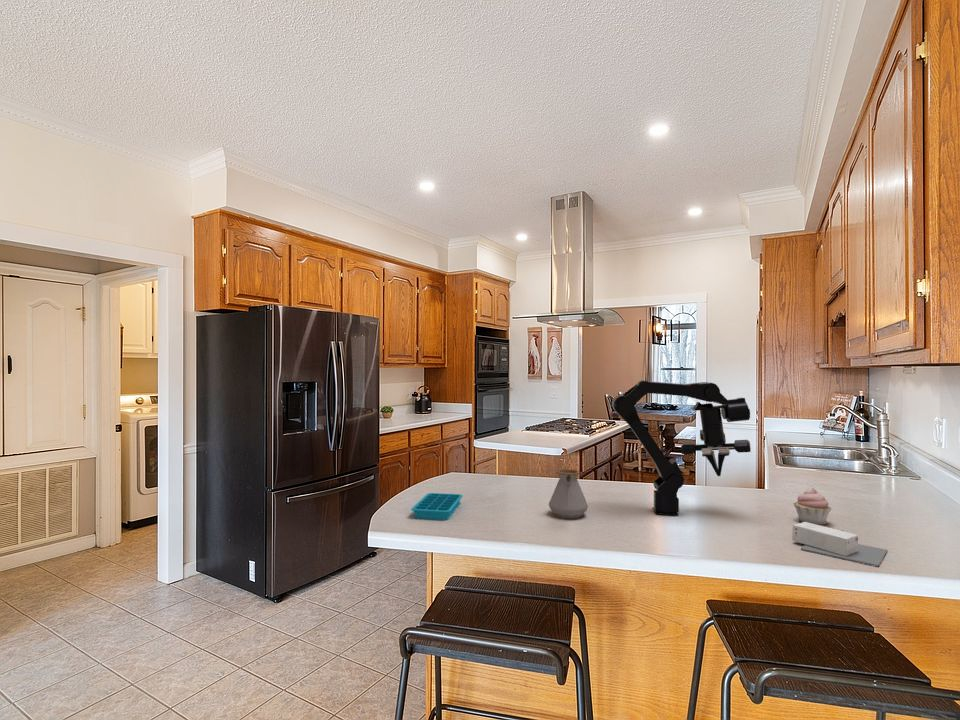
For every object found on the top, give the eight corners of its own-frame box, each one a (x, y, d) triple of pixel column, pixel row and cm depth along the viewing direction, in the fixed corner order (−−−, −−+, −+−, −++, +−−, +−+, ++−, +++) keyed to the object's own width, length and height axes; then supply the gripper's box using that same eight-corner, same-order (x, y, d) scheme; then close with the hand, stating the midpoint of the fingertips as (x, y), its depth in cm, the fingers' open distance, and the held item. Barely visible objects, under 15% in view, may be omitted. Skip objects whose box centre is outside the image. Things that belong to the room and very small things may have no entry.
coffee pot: (549, 508, 160) (549, 460, 160) (587, 510, 158) (587, 461, 158) (546, 529, 139) (546, 474, 139) (590, 532, 137) (590, 475, 137)
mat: (800, 549, 125) (800, 548, 125) (814, 536, 135) (814, 535, 135) (878, 567, 114) (878, 565, 114) (887, 551, 124) (887, 549, 124)
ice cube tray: (410, 520, 148) (410, 509, 148) (428, 501, 168) (428, 492, 168) (449, 522, 146) (449, 511, 146) (463, 503, 166) (463, 494, 166)
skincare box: (791, 541, 130) (845, 558, 119) (792, 523, 130) (846, 539, 119) (804, 537, 133) (858, 553, 123) (805, 519, 133) (859, 534, 123)
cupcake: (818, 529, 141) (818, 492, 142) (786, 519, 150) (786, 485, 150) (839, 524, 145) (839, 489, 146) (806, 516, 154) (806, 482, 154)
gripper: (747, 418, 157) (754, 469, 157) (682, 422, 166) (689, 470, 166) (746, 423, 148) (754, 477, 147) (677, 427, 156) (684, 478, 156)
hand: (719, 475), depth 154 cm, fingers closed
